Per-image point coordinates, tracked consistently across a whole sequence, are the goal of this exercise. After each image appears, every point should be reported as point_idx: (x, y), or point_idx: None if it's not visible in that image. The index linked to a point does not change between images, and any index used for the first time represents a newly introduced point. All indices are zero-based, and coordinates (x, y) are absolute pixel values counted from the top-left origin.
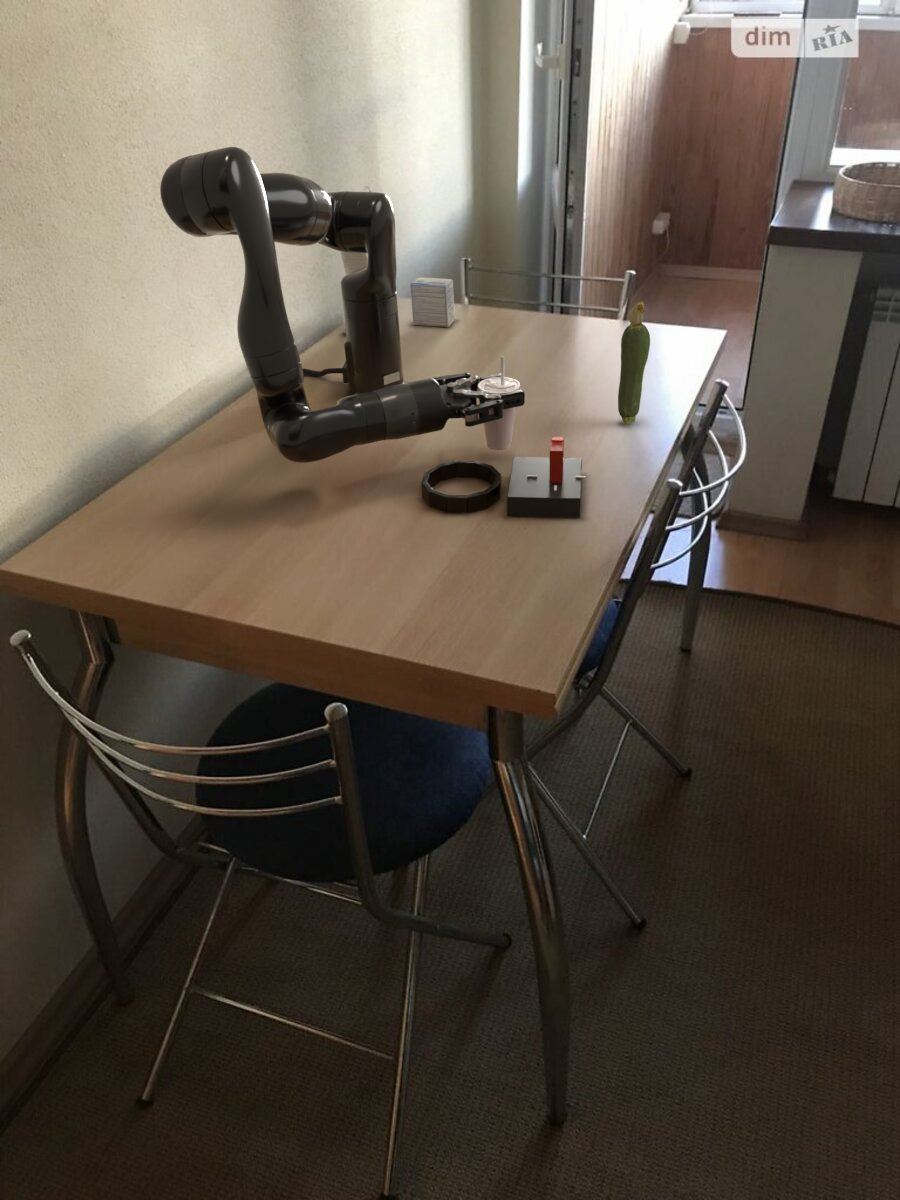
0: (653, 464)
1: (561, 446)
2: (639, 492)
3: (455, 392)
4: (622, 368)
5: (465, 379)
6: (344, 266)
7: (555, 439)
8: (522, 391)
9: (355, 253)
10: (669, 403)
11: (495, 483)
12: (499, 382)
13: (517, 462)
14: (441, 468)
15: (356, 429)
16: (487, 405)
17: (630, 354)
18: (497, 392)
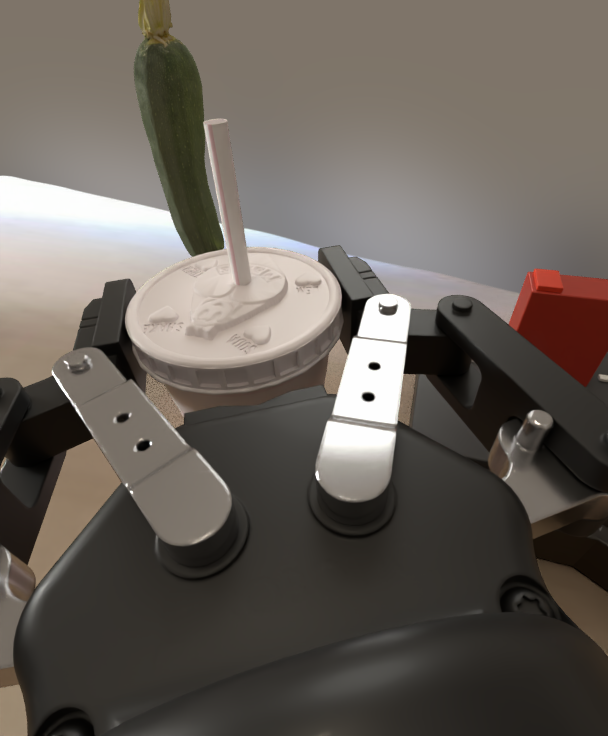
0: (379, 267)
1: (592, 279)
2: (487, 293)
3: (385, 485)
4: (176, 163)
5: (115, 398)
6: None
7: (556, 281)
8: (339, 245)
9: None
10: (172, 227)
11: (597, 535)
12: (217, 287)
13: (450, 441)
14: None
15: None
16: (526, 349)
17: (193, 114)
18: (323, 306)
